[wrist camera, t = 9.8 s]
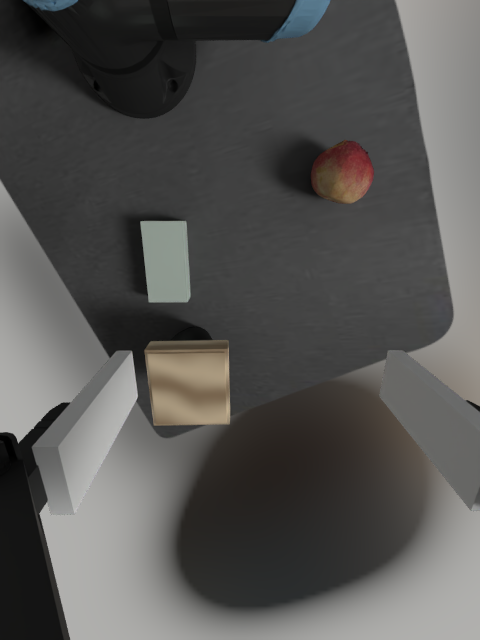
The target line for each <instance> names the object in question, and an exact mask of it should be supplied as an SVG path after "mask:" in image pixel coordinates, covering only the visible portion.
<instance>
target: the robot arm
mask: <svg viewBox="0 0 480 640" xmlns="http://www.w3.org/2000/svg"><path fill="white" fill-rule="evenodd" d="M23 1H25V2H26V3H27V4H28V5H29V6H30V7H31V8H32V9H33V10H34V11H35V12H36V13H37V14H38V15H39V16H40V17H41V18H42V19H43V20H44V21H45V22H46V23H47V24H48V25H49V26H50V27H51V28H52V29H53V30H54V31H55V32H56V33H57V34H58V35H59V36H60V37H61V38H62V39H63V40H64V41H65V42H66V43H67V44H68V45H69V46H70V47H71V48H72V51H73V53H74V56H75V59H76V62H77V64H78V66H79V69H80V71H81V73H82V74H83V76H84V78H85V79H86V81H87V82H88V84H89V85H90V86H91V88H92V89H93V90H94V91H95V92H96V93H97V94H98V95H99V96H100V97H101V98H102V99H103V100H104V101H105V102H106V103H107V104H109V105H110V106H111V107H112V108H114V109H115V110H117V111H119V112H121V113H123V114H125V115H128V116H131V117H135V118H153V117H157V116H160V115H163V114H165V113H167V112H168V111H170V110H171V109H173V108H174V107H175V106H176V105H177V104H178V103H179V102H180V101H181V100H182V98H183V97H184V96H185V94H186V92H187V91H188V89H189V87H190V84H191V82H192V79H193V75H194V71H195V64H196V44H195V41H204V40H261V41H262V42H266V43H269V42H270V41H274V40H276V39H281V38H294V37H301V36H302V35H304V34H306V33H308V32H309V31H311V30H312V29H313V28H314V27H315V26H316V25H317V23H318V22H319V20H320V19H321V18H322V16H323V14H324V12H325V11H326V9H327V7H328V5H329V3H330V0H23ZM137 398H138V394H137V386H136V378H135V370H134V362H133V355H132V351H116V352H115V353H114V354H113V356H112V357H111V358H110V359H109V360H108V361H107V362H106V364H105V365H104V366H103V367H102V368H101V369H100V370H99V371H98V373H97V374H96V375H95V376H94V377H93V378H92V379H91V381H90V382H89V383H88V384H87V385H86V386H85V387H84V388H83V390H82V391H81V392H80V393H79V394H78V395H77V396H76V397H75V399H74V400H73V401H72V402H71V403H61V404H60V405H58V406H56V407H55V408H53V409H51V410H50V411H49V412H48V413H47V414H46V415H45V416H44V417H43V418H42V419H41V421H39V422H38V423H37V425H36V426H35V427H34V429H32V430H31V431H30V432H29V433H28V434H27V435H26V436H25V437H24V438H23V439H22V440H21V441H20V442H19V443H18V442H17V439H16V437H15V436H14V434H12V433H8V432H4V433H0V640H70V637H69V633H68V628H67V624H66V620H65V616H64V612H63V608H62V604H61V600H60V596H59V591H58V588H57V583H56V579H55V575H54V571H53V567H52V563H51V558H50V555H49V550H48V546H47V542H46V538H45V534H44V530H43V526H42V522H41V518H40V515H39V513H40V512H41V510H42V508H43V507H44V505H45V504H46V502H47V503H48V506H49V510H50V513H51V515H65V514H67V515H68V514H70V515H71V514H75V513H76V511H77V509H78V507H79V505H80V503H81V501H82V500H83V498H84V496H85V494H86V492H87V490H88V489H89V487H90V485H91V483H92V481H93V479H94V477H95V476H96V474H97V472H98V470H99V468H100V466H101V465H102V463H103V461H104V459H105V457H106V455H107V453H108V452H109V450H110V448H111V446H112V444H113V442H114V440H115V439H116V437H117V435H118V433H119V431H120V429H121V427H122V425H123V424H124V422H125V420H126V418H127V416H128V415H129V413H130V411H131V409H132V407H133V405H134V403H135V402H136V400H137ZM380 398H381V399H382V400H383V401H384V403H385V404H386V405H387V406H388V408H389V409H390V410H391V411H392V413H393V414H394V415H395V416H396V418H397V419H398V420H399V421H400V423H401V424H402V425H403V427H404V428H405V429H406V430H407V432H408V433H409V434H410V435H411V437H412V438H413V439H414V440H415V442H416V443H417V444H418V445H419V446H420V448H421V449H422V450H423V452H424V453H425V454H426V455H427V456H428V458H429V459H430V460H431V462H432V463H433V464H434V465H435V466H436V468H437V469H438V470H439V472H440V473H441V474H442V475H443V477H444V478H445V479H446V480H447V482H448V483H449V484H450V485H451V487H452V488H453V489H454V490H455V491H456V493H457V494H458V495H459V496H460V498H461V499H462V500H463V501H464V503H465V504H466V505H467V506H468V508H469V509H470V510H471V511H480V406H478V405H476V404H474V403H472V402H470V401H468V400H464V399H463V398H461V397H460V396H459V395H458V394H457V393H455V392H454V391H453V390H451V389H450V388H449V387H448V386H447V385H445V384H444V383H443V382H442V381H440V380H439V379H438V378H436V377H435V376H434V375H433V374H432V373H430V372H429V371H428V370H427V369H425V368H424V367H423V366H421V365H420V364H419V363H418V362H416V361H415V360H414V359H413V358H411V357H410V356H409V355H408V354H407V353H405V352H404V351H403V350H388V354H387V359H386V365H385V370H384V375H383V380H382V386H381V391H380Z"/></svg>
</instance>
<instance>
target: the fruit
mask: <svg viewBox="0 0 480 640" xmlns="http://www.w3.org/2000/svg"><path fill="white" fill-rule="evenodd" d="M373 175H374V170H373V166H372V163H371V160H370V158H369V156H368V152H366V151H365V150H363V148H362V146H360V144H359V143H356V142H355V141H347V140H344V141H342V142H340V143H338V144H336V145H335V146H333V147H331V148H329V149H327V150H326V151H324V152H323V153H321V154H320V155H319V156H318V157H317V159H316V160H315V161H314V164H313V166H312V171H311V183H312V187H313V189H314V190H315V192H316V193H317V194H318V195H319V196H321V197H323V198H325V199H327V200H330V201H333V202H336V203H344V204H350V203H353V202H355V201H357V200H358V199H360V198H361V197H363V196H364V194H365V193H366V192H367V190H368V189H369V187H370V185H371V183H372V181H373Z"/></svg>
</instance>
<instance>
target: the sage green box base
mask: <svg viewBox="0 0 480 640" xmlns="http://www.w3.org/2000/svg"><path fill="white" fill-rule="evenodd" d="M140 223H141V233H142V242H143V252H144V261H145V271H146V280H147V289H148V299H149V302H188V300H189V298H190V297H191V295H190V277H189V260H188V242H187V224H186V221H140Z"/></svg>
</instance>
